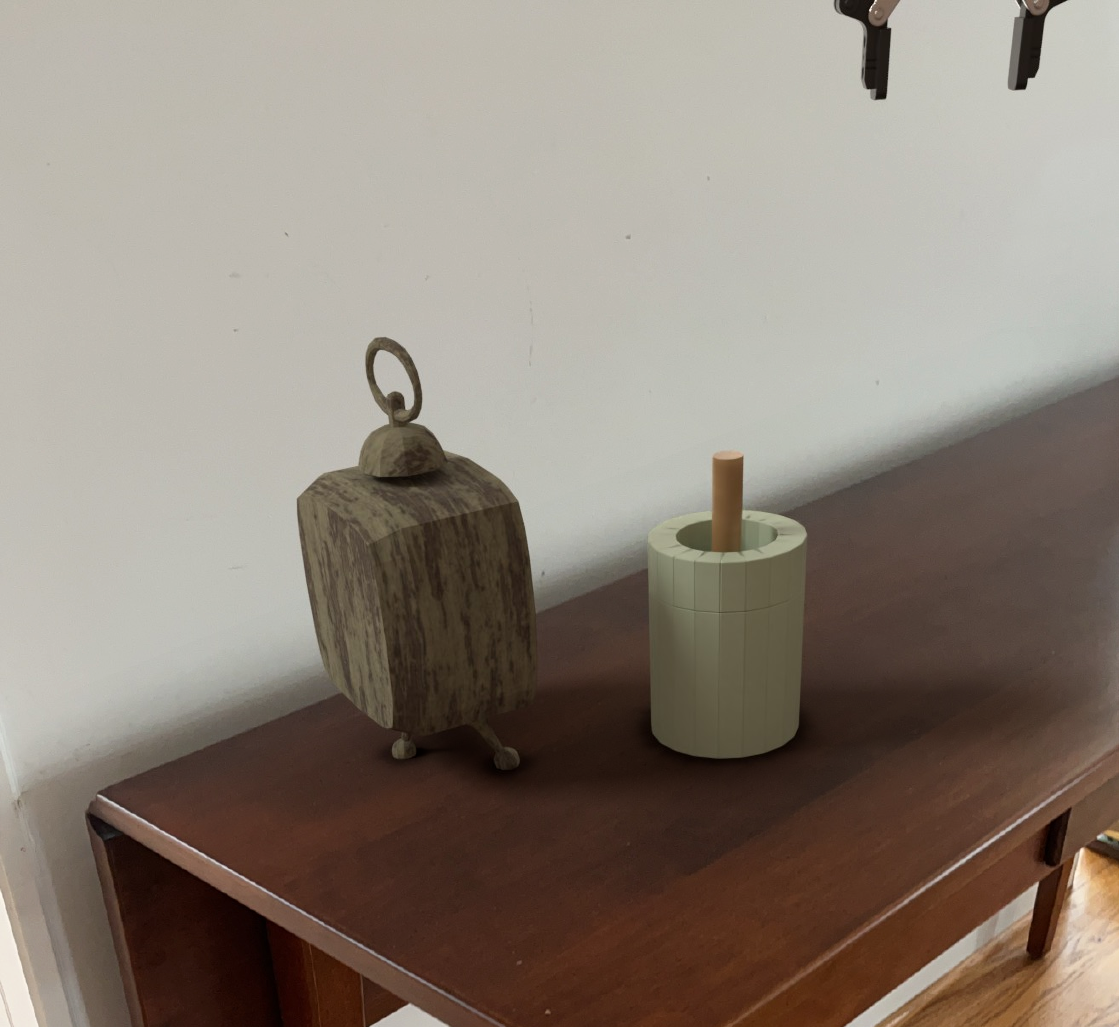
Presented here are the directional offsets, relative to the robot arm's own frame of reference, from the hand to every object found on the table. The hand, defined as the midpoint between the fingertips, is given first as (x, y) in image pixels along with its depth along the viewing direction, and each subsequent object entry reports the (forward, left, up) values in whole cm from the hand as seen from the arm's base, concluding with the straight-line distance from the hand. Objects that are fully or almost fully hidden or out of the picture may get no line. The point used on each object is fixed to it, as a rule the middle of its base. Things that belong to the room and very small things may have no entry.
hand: (946, 94), depth 88 cm
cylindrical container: (+15, +20, -33) cm, 41 cm away
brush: (+15, +20, -32) cm, 41 cm away
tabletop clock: (+34, +21, -33) cm, 52 cm away
